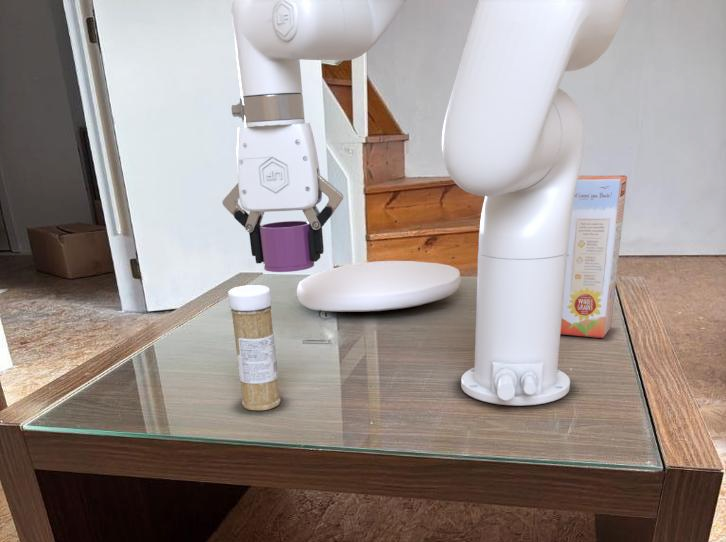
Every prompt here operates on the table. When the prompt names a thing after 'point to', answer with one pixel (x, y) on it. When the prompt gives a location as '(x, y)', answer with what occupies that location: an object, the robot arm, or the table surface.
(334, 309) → the plate
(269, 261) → the cup
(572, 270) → the cracker box
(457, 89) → the robot arm
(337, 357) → the table surface
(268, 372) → the spice jar
